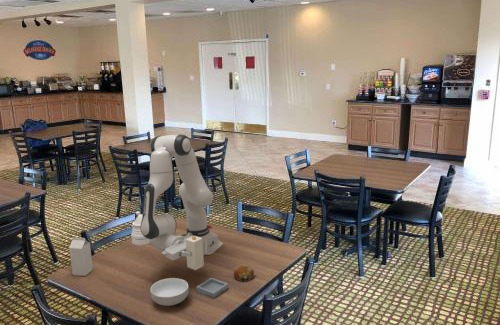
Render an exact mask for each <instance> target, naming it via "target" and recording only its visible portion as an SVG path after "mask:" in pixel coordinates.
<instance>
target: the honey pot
mask: <svg viewBox="0 0 500 325" xmlns="http://www.w3.org/2000/svg"><path fill="white" fill-rule="evenodd" d="M134 213H135V215H136V218H135V220H134V221H132V230H131V232H130V233H131V234H130V235H131V236H130V237H131V243H132V245H136V246H144V245H145V244H146V245H149V244H151V243H150V241H149V239H148V238H146V237H144V236H143V235H142V233H141V230H140V227H141V222H142V217H143V213H141V212H140V211H138V210H137V211H135V212H134ZM148 243H149V244H148Z"/></svg>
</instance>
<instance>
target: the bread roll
mask: <svg viewBox="0 0 500 325" xmlns="http://www.w3.org/2000/svg"><path fill="white" fill-rule="evenodd" d="M254 273H255V272H254V269H253V267H251V266H250V265H249V264H247V263H243V264H242V263H241V264H239V265H237V266H236V267H235V268H234V271H233V277H234V279H235V280H236V281H238V282H248V281H251V280H252V279H253V278H254V276H255V274H254ZM251 278H252V279H251ZM247 280H248V281H247Z"/></svg>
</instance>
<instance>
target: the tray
mask: <svg viewBox="0 0 500 325" xmlns="http://www.w3.org/2000/svg"><path fill="white" fill-rule="evenodd" d="M195 289H196V292H197V293H199V294H201V295H204V296H206V297H209V298H211V299H216V298H217V297H218V296H219V295H221V294H222V293H224V292H226V291H227V290H228V289H229V283H227V282H225V281H221V280H219V279H216V278H214V277H209V278H208V279H206V280H205V281H203V282H201V283H200V284H199V285H197V286H196V288H195Z"/></svg>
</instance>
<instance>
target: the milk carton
mask: <svg viewBox="0 0 500 325" xmlns="http://www.w3.org/2000/svg"><path fill="white" fill-rule="evenodd" d="M71 238H72V240H71V243H70V245H69V247H68V249H69V255H70V263H71V265H70V266H71V272H72V276H82V277H86V276H87V275H88V274H89V273H91V272H92V271H93V270H94V266H93V259H92V250H91V243H90V241H88V240H86V238H85V237H71Z"/></svg>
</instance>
